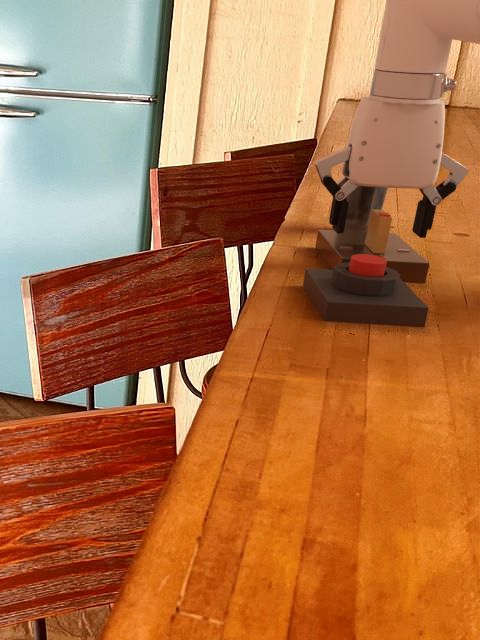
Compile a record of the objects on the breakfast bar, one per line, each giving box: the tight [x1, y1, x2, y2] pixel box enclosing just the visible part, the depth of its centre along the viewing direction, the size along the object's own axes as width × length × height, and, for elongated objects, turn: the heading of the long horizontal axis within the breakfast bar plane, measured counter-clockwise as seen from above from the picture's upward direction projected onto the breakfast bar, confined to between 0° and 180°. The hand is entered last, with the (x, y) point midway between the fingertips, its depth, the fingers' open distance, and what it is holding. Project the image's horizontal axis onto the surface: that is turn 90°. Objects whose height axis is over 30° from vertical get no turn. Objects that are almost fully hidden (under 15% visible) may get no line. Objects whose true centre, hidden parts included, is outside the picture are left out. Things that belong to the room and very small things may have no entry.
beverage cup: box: [344, 186, 389, 232], centre depth 124 cm, size 7×7×20 cm
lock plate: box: [314, 229, 431, 284], centre depth 112 cm, size 10×14×3 cm
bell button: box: [348, 254, 387, 277], centre depth 95 cm, size 4×4×2 cm
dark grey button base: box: [302, 262, 430, 328], centre depth 96 cm, size 10×12×4 cm
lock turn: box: [365, 209, 393, 254], centre depth 108 cm, size 4×1×5 cm, turn 173°
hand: (377, 233), depth 109 cm, fingers open, 9 cm apart
